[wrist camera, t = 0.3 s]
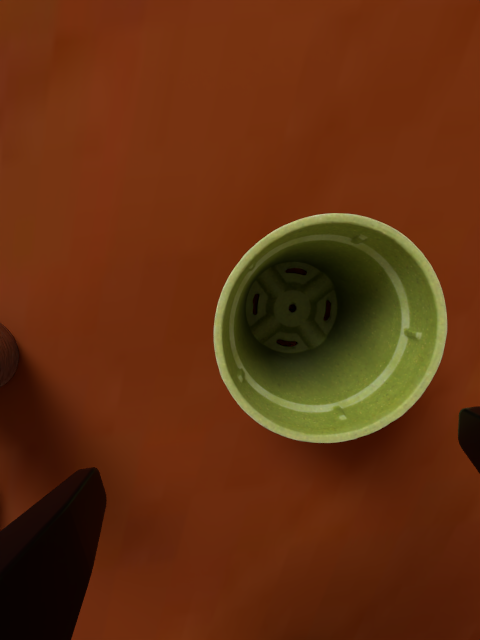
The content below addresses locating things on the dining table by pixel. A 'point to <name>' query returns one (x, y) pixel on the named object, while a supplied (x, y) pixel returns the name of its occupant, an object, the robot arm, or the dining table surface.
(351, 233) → the plant pot
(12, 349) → the capped frosted bottle
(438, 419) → the dining table surface
